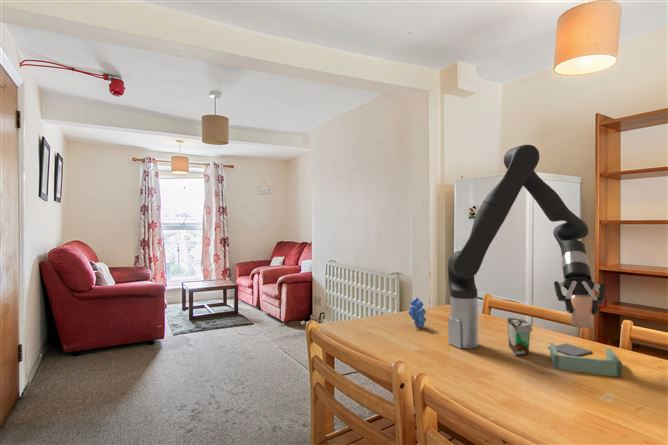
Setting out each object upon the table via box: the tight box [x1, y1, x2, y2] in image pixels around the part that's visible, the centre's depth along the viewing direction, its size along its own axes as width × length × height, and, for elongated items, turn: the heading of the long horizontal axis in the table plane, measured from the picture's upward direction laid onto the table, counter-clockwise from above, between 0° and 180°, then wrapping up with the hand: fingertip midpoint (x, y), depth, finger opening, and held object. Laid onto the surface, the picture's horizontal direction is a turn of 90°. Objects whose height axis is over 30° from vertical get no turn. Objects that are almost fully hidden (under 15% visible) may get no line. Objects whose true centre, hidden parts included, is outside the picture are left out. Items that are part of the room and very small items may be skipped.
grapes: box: [408, 296, 427, 328], centre depth 161 cm, size 12×7×12 cm, turn 13°
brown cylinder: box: [570, 294, 594, 329], centre depth 116 cm, size 6×6×9 cm
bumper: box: [549, 342, 623, 378], centre depth 116 cm, size 13×16×4 cm
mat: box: [547, 342, 593, 357], centre depth 128 cm, size 9×9×1 cm
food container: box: [506, 317, 533, 357], centre depth 128 cm, size 12×6×10 cm, turn 168°
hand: (582, 312), depth 115 cm, fingers closed on brown cylinder, 5 cm apart
